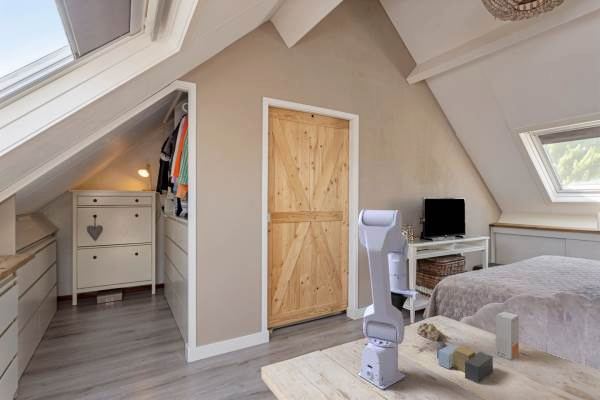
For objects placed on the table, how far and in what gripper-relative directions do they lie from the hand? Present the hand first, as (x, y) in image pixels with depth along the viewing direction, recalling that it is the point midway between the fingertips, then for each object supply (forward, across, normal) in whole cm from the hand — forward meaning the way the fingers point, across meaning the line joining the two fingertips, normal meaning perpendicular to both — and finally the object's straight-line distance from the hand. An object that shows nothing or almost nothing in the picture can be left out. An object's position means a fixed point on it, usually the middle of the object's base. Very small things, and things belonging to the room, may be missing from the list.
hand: (396, 316), depth 96 cm
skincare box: (+10, -23, -23) cm, 34 cm away
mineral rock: (+10, -2, -17) cm, 20 cm away
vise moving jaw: (+9, -14, -4) cm, 17 cm away
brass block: (+10, -19, -4) cm, 22 cm away
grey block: (+9, -23, -4) cm, 25 cm away
